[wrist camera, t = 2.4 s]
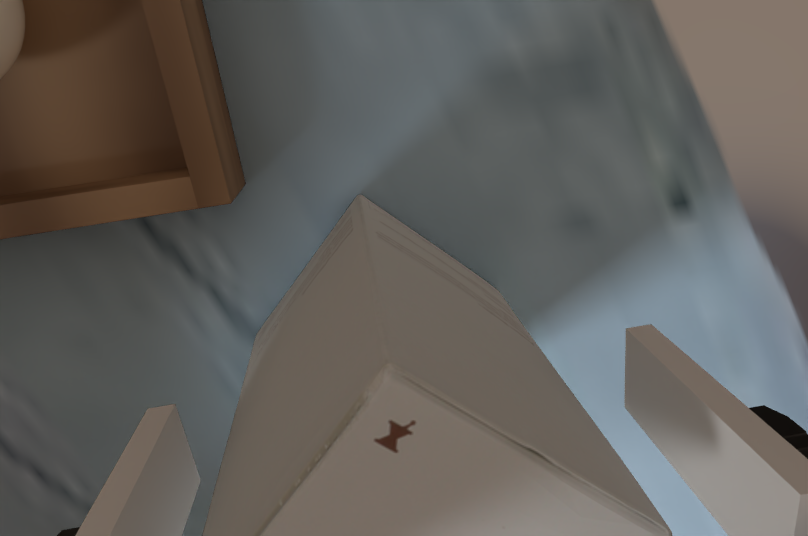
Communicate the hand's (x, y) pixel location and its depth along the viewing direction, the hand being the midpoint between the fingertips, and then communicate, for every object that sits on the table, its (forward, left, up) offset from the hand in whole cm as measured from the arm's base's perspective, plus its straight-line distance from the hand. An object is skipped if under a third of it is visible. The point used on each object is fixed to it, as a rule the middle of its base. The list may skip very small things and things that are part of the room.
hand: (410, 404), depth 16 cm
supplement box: (0, 0, -7) cm, 7 cm away
